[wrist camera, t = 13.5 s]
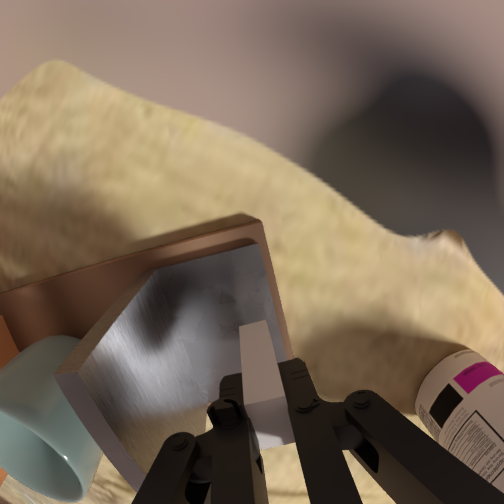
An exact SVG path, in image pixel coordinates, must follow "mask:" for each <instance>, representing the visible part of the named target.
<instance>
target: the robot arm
mask: <svg viewBox="0 0 504 504" xmlns="http://www.w3.org/2000/svg"><path fill="white" fill-rule="evenodd" d="M239 335H240V352H241V367H242V372H241V373H236V374H231V375H227V376H224V377H223V379H222V380H221V382H220V386H219V391H220V392H219V399H217V400H216V401H214V402H212V403H211V404H210V405H209V406H208V408H207V411H206V412H207V414H208V416H209V418H210V420H211V423H212V425H213V428H212V429H211V430H209V431H208V432H206V433H203V434H201V435H198V436H196V437H195V436H194V435H192V434H191V433H188V432H178V433H175V434H172V435H171V436H169V437H168V438H167V439H166V440H165V442H164V443H163V445H162V447H161V449H160V451H159V453H158V455H157V457H156V458H155V460H154V462H153V464H152V466H151V468H150V470H149V472H148V474H147V475H146V477H145V479H144V481H143V483H142V485H141V487H140V489H139V491H138V492H137V494H136V496H135V498H134V500H133V502H132V504H269V502H268V495H267V488H266V480H265V473H264V465H263V459H262V456H261V454H260V449H261V450H263V449H268V448H272V447H277V446H281V445H286V444H290V443H294V442H296V447H297V451H298V455H299V459H300V463H301V467H302V471H303V475H304V479H305V483H306V487H307V491H308V495H309V499H310V504H363V503H362V501H361V498H360V495H359V493H358V490H357V488H356V485H355V483H354V480H353V477H352V475H351V472H350V470H349V467H348V465H347V462H346V460H345V457H344V455H343V452H342V450H349V451H350V453H351V454H352V455H353V456H354V457H355V458H356V460H357V461H358V462H359V463H360V464H361V465H362V466H363V467H364V469H365V470H366V471H367V472H368V473H369V474H370V475H371V476H372V478H373V479H374V480H375V481H376V482H377V483H378V484H379V485H380V486H381V487H382V489H383V490H384V491H385V492H386V493H387V494H388V495H389V496H390V497H391V498H392V499H393V500H394V501H395V503H396V504H504V493H503V492H501V491H500V490H499V489H497V488H496V487H495V486H493V485H492V484H491V483H489V482H488V481H487V480H485V479H484V478H483V477H481V476H480V475H479V474H477V473H476V472H475V471H473V470H472V469H471V468H469V467H468V466H467V465H465V464H464V463H463V462H462V461H460V460H459V459H458V458H456V457H455V456H454V455H453V454H451V453H450V452H449V451H447V450H446V449H445V448H444V447H442V446H441V445H440V444H439V443H437V442H436V441H435V440H433V439H432V438H431V437H430V436H428V435H427V434H426V433H425V432H423V431H422V430H421V429H420V428H418V427H417V426H416V425H415V424H413V423H412V422H411V421H410V420H408V419H407V418H406V417H405V416H404V415H402V414H401V413H400V412H399V411H397V410H396V409H395V408H394V407H392V406H391V405H390V404H389V403H388V402H386V401H385V400H384V399H383V398H381V397H380V396H379V395H378V394H377V393H375V392H373V391H370V390H359V391H356V392H353V393H351V394H350V395H349V396H347V398H346V399H345V401H344V402H327V401H324V400H322V399H321V398H319V396H318V395H317V392H316V390H315V387H314V385H313V382H312V380H311V377H310V375H309V372H308V370H307V367H306V365H305V362H303V361H302V360H301V359H299V358H295V359H291V360H287V361H284V362H280V363H277V361H276V357H275V353H274V349H273V345H272V341H271V337H270V333H269V329H268V325H267V321H266V320H263V321H259V322H255V323H251V324H247V325H243V326H239ZM259 446H260V449H259ZM210 502H211V503H210Z"/></svg>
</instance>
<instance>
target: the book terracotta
mask: <svg viewBox="0 0 504 504" xmlns="http://www.w3.org/2000/svg"><path fill="white" fill-rule="evenodd" d="M18 353H19V351H18V349H17V347H16V345H15V343H14V341H13V338H12V336H11V334H10V332H9V330H8V327H7V325H6V323H5V320H4V318H3V316H2V315H0V369H1V368H2V367H3V366H4V365H5V364H6V363H7V362H8V361H9V360H11V359H12V358H13V357H14V356H15V355H17V354H18ZM7 474H8V473H7V472H6V471H4V470H3V469H2V468H1V467H0V486H1V484H2V482H3V481H4V479H5V477H6V476H7Z"/></svg>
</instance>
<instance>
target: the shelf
mask: <svg viewBox="0 0 504 504" xmlns="http://www.w3.org/2000/svg"><path fill="white" fill-rule="evenodd" d="M255 242H258V243H259V247H260V251H261V255H262V259H263V264H264V268H265V272H266V276H267V280H268V284H269V288H270V292H271V296H272V300H273V305H274V309H275V313H276V317H277V321H278V325H279V329H280V334H281V338H282V342H283V346H284V350H285V354H286V359H287V360H291V359H294V357H293V353H292V348H291V344H290V340H289V335H288V331H287V326H286V322H285V318H284V313H283V309H282V305H281V300H280V296H279V292H278V287H277V283H276V279H275V275H274V270H273V266H272V262H271V258H270V254H269V249H268V245H267V241H266V237H265V233H264V229H263V225H262V222H261V220H257V221H253V222H249V223H245V224H241V225H237V226H233V227H230V228H226V229H222V230H218V231H214V232H210V233H207V234H203V235H199V236H195V237H191V238H188V239H184V240H180V241H177V242H173V243H169V244H166V245H162V246H158V247H155V248H151V249H147V250H144V251H140V252H137V253H133V254H130V255H126V256H123V257H119V258H116V259H112V260H109V261H105V262H102V263H98V264H95V265H91V266H88V267H85V268H81V269H78V270H75V271H71V272H68V273H65V274H61V275H58V276H55V277H51V278H48V279H45V280H42V281H38V282H35V283H32V284H29V285H26V286H22V287H19V288H16V289H13V290H10V291H7V292H4V293H1V294H0V315H2V316H3V318H4V320H5V323H6V325H7V327H8V330H9V332H10V334H11V336H12V338H13V341H14V343H15V345H16V347H17V349H18V351H19V352H20V351H22V350H23V349H24V348H26V347H27V346H29V345H31V344H32V343H34V342H36V341H38V340H40V339H42V338H44V337H48V336H53V335H69V336H73V337H77V338H79V339H83V338H84V336H85V335H86V334H87V333H88V332H89V331H90V329H91V328H92V327H93V326H94V325H95V324H96V323H97V321H98V320H99V319H100V318H101V317H102V316H103V315H104V314H105V312H106V311H107V310H108V309H109V308H110V307H111V306H112V305H113V303H114V302H115V301H116V300H117V299H118V298H119V297H120V296H121V295H122V294H123V293H124V291H125V290H126V289H127V288H128V287H129V286H130V285H131V284H132V283H133V282H134V281H135V280H136V278H137V277H138V276H139V275H140V274H141V273H142V272H143V271H146V270H150V269H154V268H158V267H162V266H165V265H169V264H173V263H177V262H181V261H185V260H189V259H192V258H196V257H200V256H204V255H208V254H212V253H216V252H220V251H224V250H227V249H231V248H235V247H239V246H243V245H247V244H251V243H255ZM210 404H211V403H208V404H207V408H208V406H209V405H210Z"/></svg>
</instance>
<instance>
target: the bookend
mask: <svg viewBox="0 0 504 504" xmlns="http://www.w3.org/2000/svg"><path fill="white" fill-rule="evenodd" d="M263 320H266V321H267V325H268V329H269V333H270V337H271V341H272V345H273V349H274V353H275V357H276V361H277V363H280V362H284V361H287V359H286V354H285V350H284V346H283V342H282V338H281V334H280V329H279V325H278V321H277V317H276V313H275V309H274V305H273V300H272V296H271V292H270V288H269V284H268V280H267V276H266V272H265V268H264V264H263V259H262V255H261V251H260V247H259V243H258V242H255V243H251V244H247V245H243V246H239V247H235V248H231V249H227V250H224V251H220V252H216V253H212V254H208V255H204V256H200V257H196V258H192V259H189V260H185V261H181V262H177V263H173V264H169V265H165V266H162V267H158V268H154V269H150V270H146V271H143V272H142V273H141V274H140V275H139V276H138V277H137V278H136V280H135V281H134V282H133V283H132V284H131V285H130V286H129V287H128V288H127V289H126V290H125V291H124V293H123V294H122V295H121V296H120V297H119V298H118V299H117V300H116V301H115V302H114V303H113V305H112V306H111V307H110V308H109V309H108V310H107V311H106V312H105V314H104V315H103V316H102V317H101V318H100V319H99V320H98V321H97V323H96V324H95V325H94V326H93V327H92V328H91V329H90V331H89V332H88V333H87V334H86V335H85V336H84V338H83V339H82V340H81V341H80V342H79V343H78V345H77V346H76V347H75V348H74V349H73V350H72V352H71V353H70V354H69V355H68V356H67V358H66V359H65V360H64V361H63V362H62V364H61V365H60V366H59V367H58V369H57V370H56V371H55V372H54V374H53V376H54V378H55V380H56V382H57V383H58V385H59V387H60V388H61V390H62V392H63V394H64V395H65V397H66V399H67V400H68V402H69V403H70V405H71V407H72V408H73V410H74V411H75V413H76V414H77V416H78V418H79V419H80V421H81V422H82V424H83V425H84V426H85V428H86V429H87V431H88V432H89V434H90V435H91V437H92V438H93V439H94V441H95V442H96V443H97V445H98V446H99V447H100V449H101V450H102V451H103V453H104V454H105V455H106V457H107V458H108V459H109V460H110V462H111V463H112V464H113V465H114V467H115V468H116V469H117V470H118V472H119V473H120V474H121V475H122V476H123V477H124V479H125V480H126V481H127V482H128V483H129V484H130V486H131V487H132V488H133V489H134V490H135V491H136V492H138V491H139V489H140V487H141V485H142V483H143V481H144V479H145V477H146V475H147V474H148V472H149V470H150V468H151V466H152V464H153V462H154V460H155V458H156V457H157V455H158V453H159V451H160V449H161V447H162V445H163V443H164V442H165V440H166V439H167V438H168V437H169V436H171V435H172V434H175V433H178V432H188V433H191V434H192V435H194V436H195V437H196V436H198V435H201V434H203V433H205V428H206V416H207V412H206V411H207V404H208V403H212V402H214V401H216V400H217V399H219V392H220V391H219V386H220V382H221V380H222V379H223V377H224V376H227V375H231V374H236V373H241V372H242V367H241V352H240V335H239V326H243V325H247V324H251V323H255V322H259V321H263Z"/></svg>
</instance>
